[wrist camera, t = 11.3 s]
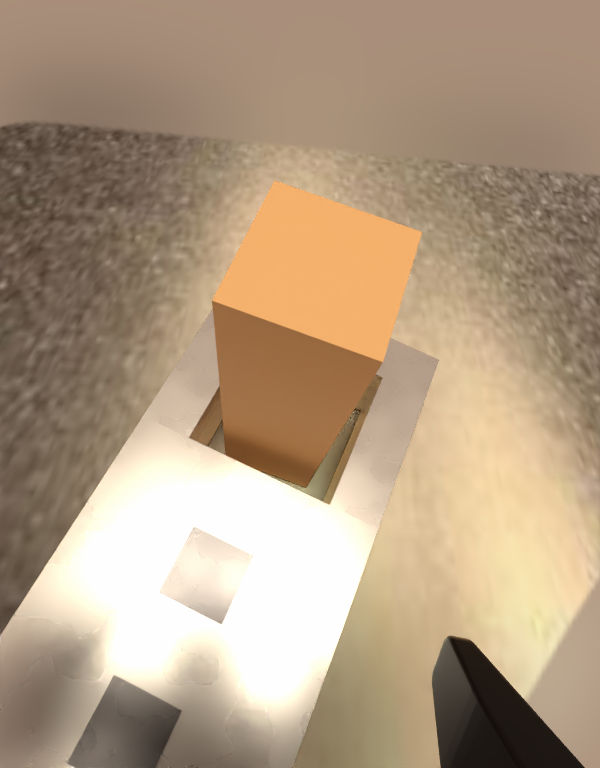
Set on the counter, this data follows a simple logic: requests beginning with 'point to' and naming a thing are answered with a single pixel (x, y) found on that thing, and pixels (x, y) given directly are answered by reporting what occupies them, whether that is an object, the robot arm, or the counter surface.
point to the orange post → (304, 326)
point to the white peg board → (199, 589)
